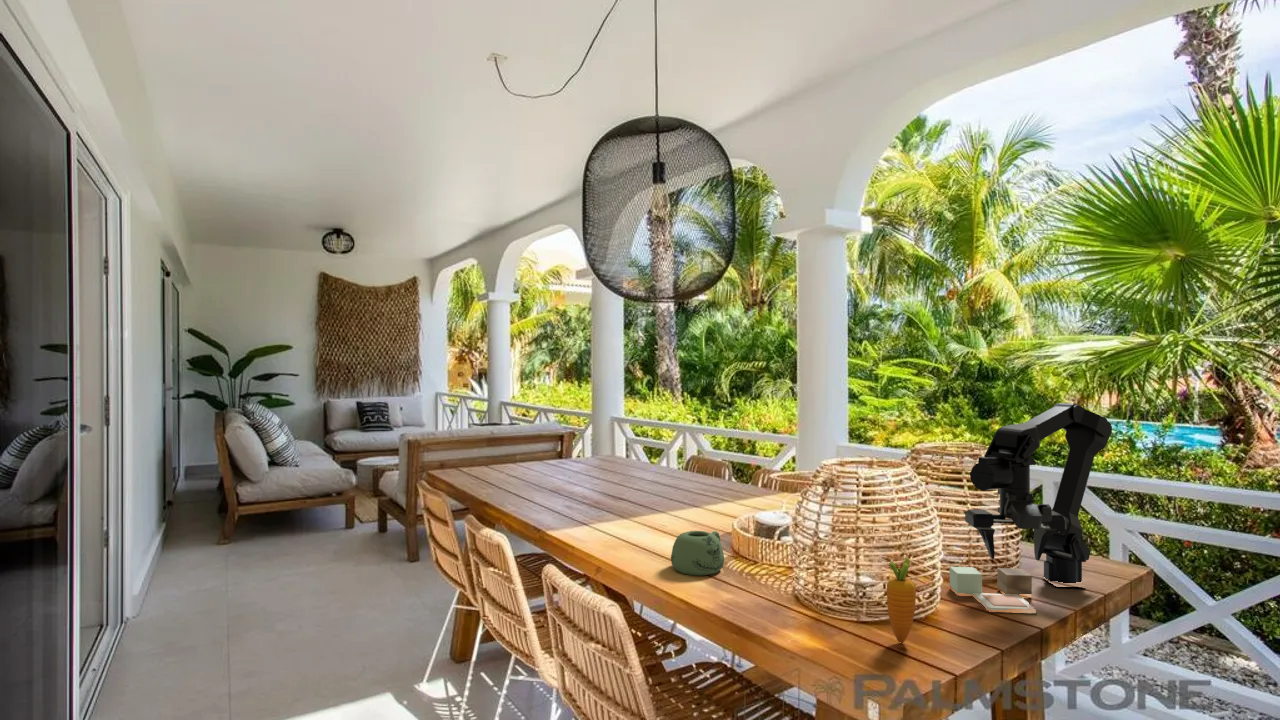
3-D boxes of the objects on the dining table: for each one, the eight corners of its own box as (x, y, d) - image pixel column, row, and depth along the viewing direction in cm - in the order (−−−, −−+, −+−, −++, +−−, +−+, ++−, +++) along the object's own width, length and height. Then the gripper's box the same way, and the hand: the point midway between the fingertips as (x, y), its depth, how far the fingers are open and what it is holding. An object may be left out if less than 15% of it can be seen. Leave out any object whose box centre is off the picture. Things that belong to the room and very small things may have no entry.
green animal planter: (704, 581, 161) (704, 543, 161) (659, 570, 170) (659, 534, 170) (741, 565, 174) (741, 530, 174) (697, 556, 182) (697, 522, 182)
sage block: (973, 590, 156) (973, 567, 156) (982, 597, 151) (982, 574, 151) (949, 589, 156) (949, 566, 156) (957, 597, 151) (957, 573, 151)
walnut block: (1021, 591, 155) (1021, 568, 155) (1031, 599, 150) (1031, 575, 150) (997, 591, 155) (997, 568, 155) (1006, 598, 150) (1006, 574, 150)
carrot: (889, 648, 124) (889, 562, 124) (884, 637, 129) (884, 554, 129) (919, 649, 123) (919, 563, 123) (912, 638, 128) (912, 555, 128)
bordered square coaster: (1017, 599, 150) (1017, 593, 150) (1037, 614, 141) (1037, 608, 141) (973, 597, 150) (973, 592, 150) (989, 612, 141) (989, 606, 141)
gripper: (983, 493, 145) (983, 569, 145) (1080, 494, 143) (1080, 571, 144) (964, 483, 156) (964, 554, 157) (1053, 484, 155) (1053, 556, 155)
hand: (1014, 559), depth 152 cm, fingers open, 9 cm apart
